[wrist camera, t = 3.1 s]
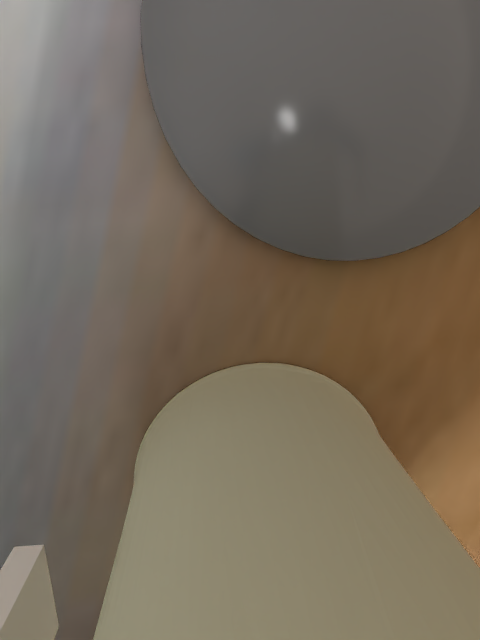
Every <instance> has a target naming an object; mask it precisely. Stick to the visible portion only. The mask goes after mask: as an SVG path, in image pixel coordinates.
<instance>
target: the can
mask: <svg viewBox="0 0 480 640" xmlns="http://www.w3.org/2000/svg"><path fill="white" fill-rule="evenodd" d="M93 640H480V568H479V567H478V566H477V564H476V563H475V562H474V560H473V559H472V558H471V557H470V555H469V554H468V553H467V551H466V550H465V549H464V547H463V546H462V545H461V543H460V542H459V541H458V540H457V538H456V537H455V536H454V534H453V533H452V532H451V530H450V529H449V528H448V527H447V525H446V524H445V523H444V521H443V520H442V519H441V517H440V516H439V515H438V513H437V512H436V511H435V510H434V508H433V507H432V506H431V504H430V503H429V502H428V500H427V499H426V498H425V496H424V495H423V494H422V492H421V491H420V489H419V488H418V487H417V485H416V484H415V483H414V481H413V480H412V479H411V477H410V476H409V475H408V473H407V472H406V471H405V469H404V468H403V467H402V465H401V464H400V463H399V461H398V460H397V459H396V457H395V456H394V455H393V453H392V452H391V450H390V449H389V448H388V446H387V445H386V444H385V442H384V441H383V440H382V438H381V437H380V435H379V433H378V430H377V428H376V426H375V424H374V422H373V420H372V418H371V417H370V415H369V414H368V412H367V411H366V409H365V408H364V407H363V405H362V404H361V403H360V402H359V401H358V400H357V399H356V398H355V397H354V396H353V395H352V394H351V393H350V392H349V391H348V390H346V389H345V388H344V387H342V386H341V385H340V384H338V383H337V382H335V381H333V380H332V379H330V378H328V377H326V376H324V375H322V374H320V373H317V372H315V371H312V370H309V369H306V368H302V367H298V366H294V365H289V364H282V363H253V364H244V365H238V366H234V367H230V368H226V369H223V370H220V371H217V372H214V373H212V374H210V375H208V376H205V377H203V378H201V379H199V380H198V381H196V382H194V383H192V384H191V385H189V386H188V387H186V388H185V389H184V390H182V391H181V392H179V393H178V394H177V395H176V396H175V397H174V398H172V399H171V400H170V401H169V402H168V403H167V404H166V405H165V406H164V408H163V409H162V410H161V411H160V412H159V413H158V414H157V416H156V417H155V419H154V420H153V422H152V423H151V425H150V426H149V428H148V430H147V432H146V433H145V436H144V438H143V440H142V442H141V444H140V448H139V451H138V454H137V458H136V462H135V470H134V486H133V491H132V495H131V499H130V503H129V507H128V511H127V515H126V519H125V523H124V527H123V531H122V535H121V538H120V542H119V546H118V549H117V553H116V557H115V560H114V564H113V568H112V572H111V575H110V579H109V583H108V586H107V590H106V594H105V597H104V601H103V605H102V609H101V612H100V616H99V620H98V623H97V627H96V631H95V634H94V638H93Z"/></svg>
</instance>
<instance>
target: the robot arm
mask: <svg viewBox="0 0 480 640" xmlns="http://www.w3.org/2000/svg"><path fill="white" fill-rule="evenodd" d="M58 628H59V623H58V617H57V612H56V607H55V601H54V596H53V590H52V585H51V580H50V574H49V569H48V564H47V558H46V553H45V547H44V545H31V546H17V547H14V548H13V550H12V551H11V553H10V555H9V556H8V558H7V560H6V561H5V563H4V565H3V566H2V568H1V570H0V640H54V639H55V636H56V633H57V631H58Z"/></svg>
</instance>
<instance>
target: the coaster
mask: <svg viewBox="0 0 480 640" xmlns="http://www.w3.org/2000/svg"><path fill="white" fill-rule="evenodd" d="M141 47H142V54H143V61H144V68H145V75H146V81H147V84H148V88H149V92H150V96H151V100H152V103H153V107H154V111H155V113H156V116H157V118H158V121H159V123H160V126H161V128H162V131H163V133H164V136H165V138H166V140H167V142H168V144H169V146H170V148H171V149H172V151H173V153H174V155H175V157H176V159H177V161H178V162H179V164H180V166H181V167H182V169H183V170H184V171H185V173H186V174H187V176H188V177H189V178H190V180H191V181H192V183H193V184H194V185H195V187H196V188H197V189H198V190H199V192H200V193H201V194H202V195H203V196H204V197H205V198H206V199H207V200H208V201H209V202H210V203H211V205H212V206H213V207H214V208H215V209H217V210H218V211H219V212H220V213H221V214H223V215H224V216H225V217H226V218H227V219H229V220H230V221H231V222H232V223H233V224H235V225H236V226H238V227H239V228H241V229H243V230H244V231H246V232H247V233H249V234H251V235H252V236H254V237H255V238H257V239H259V240H261V241H264V242H266V243H268V244H270V245H272V246H274V247H277V248H279V249H281V250H285V251H288V252H291V253H295V254H298V255H301V256H305V257H311V258H318V259H324V260H340V261H356V260H365V259H374V258H380V257H384V256H388V255H392V254H396V253H400V252H403V251H406V250H408V249H411V248H414V247H416V246H419V245H421V244H424V243H426V242H428V241H430V240H432V239H434V238H436V237H437V236H439V235H441V234H443V233H445V232H447V231H448V230H450V229H451V228H453V227H454V226H456V225H457V224H458V223H460V222H461V221H463V220H464V219H466V218H467V217H468V216H470V215H471V214H472V213H473V212H474V211H475V210H476V209H478V208H479V207H480V0H142V5H141Z"/></svg>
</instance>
